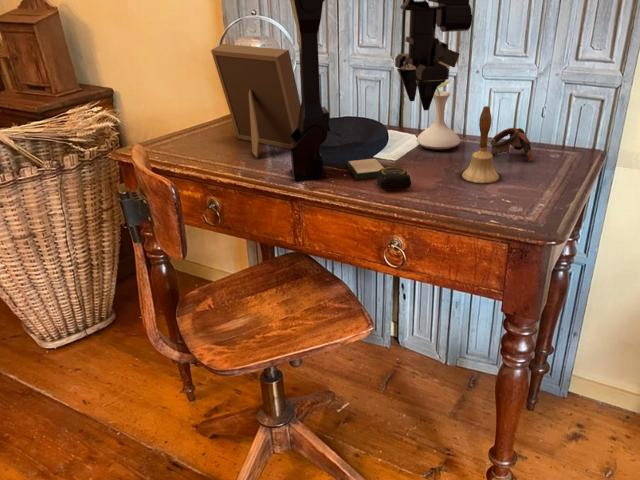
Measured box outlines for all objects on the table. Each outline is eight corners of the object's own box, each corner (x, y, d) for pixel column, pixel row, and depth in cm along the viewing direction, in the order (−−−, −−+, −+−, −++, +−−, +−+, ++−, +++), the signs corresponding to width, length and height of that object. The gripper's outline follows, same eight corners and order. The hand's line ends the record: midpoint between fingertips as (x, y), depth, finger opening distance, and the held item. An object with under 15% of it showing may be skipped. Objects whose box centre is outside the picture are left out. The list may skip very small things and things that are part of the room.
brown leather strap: (531, 167, 137) (517, 139, 134) (495, 178, 143) (481, 150, 140) (541, 141, 145) (528, 114, 141) (507, 152, 151) (494, 126, 147)
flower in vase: (468, 147, 150) (476, 46, 138) (438, 156, 144) (444, 51, 132) (432, 136, 159) (437, 40, 147) (403, 144, 153) (405, 45, 141)
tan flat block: (357, 180, 130) (356, 173, 129) (347, 167, 138) (347, 161, 137) (386, 176, 132) (386, 170, 131) (375, 164, 139) (375, 158, 138)
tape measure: (379, 194, 123) (379, 177, 121) (374, 182, 128) (374, 166, 127) (410, 192, 123) (411, 175, 121) (404, 181, 129) (405, 165, 127)
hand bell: (498, 184, 127) (507, 112, 119) (461, 182, 128) (466, 110, 120) (498, 172, 134) (506, 102, 126) (462, 170, 135) (468, 101, 127)
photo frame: (248, 134, 163) (237, 41, 151) (309, 146, 153) (303, 46, 140) (210, 148, 152) (195, 48, 140) (273, 161, 142) (263, 55, 130)
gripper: (474, 36, 118) (468, 112, 126) (440, 26, 134) (436, 94, 141) (424, 38, 115) (420, 116, 123) (395, 28, 131) (393, 97, 139)
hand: (418, 105), depth 132 cm, fingers open, 9 cm apart
